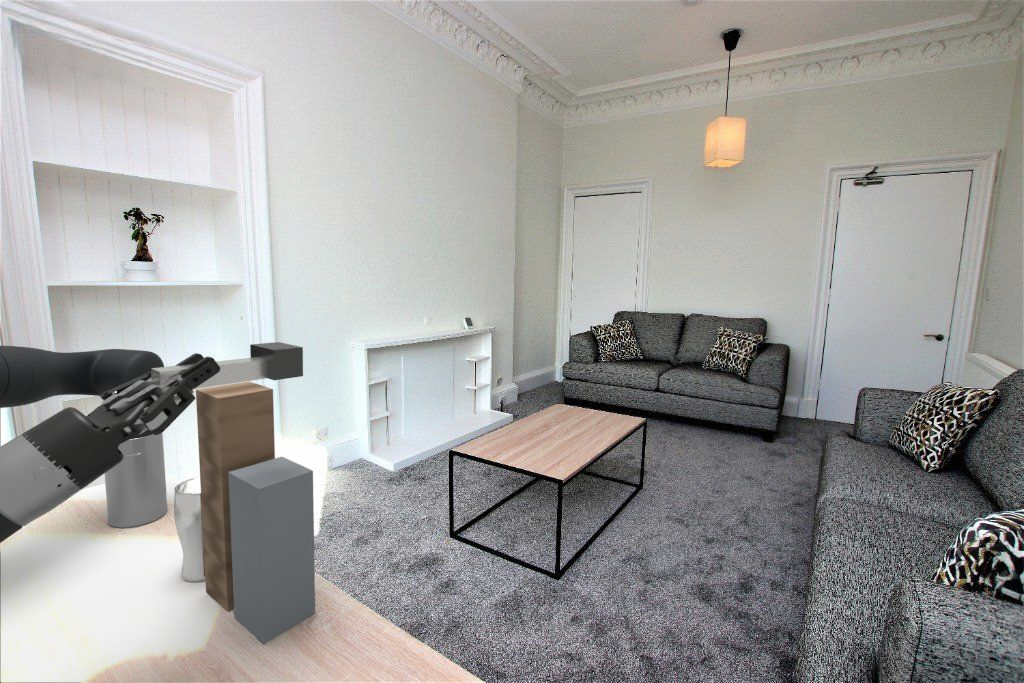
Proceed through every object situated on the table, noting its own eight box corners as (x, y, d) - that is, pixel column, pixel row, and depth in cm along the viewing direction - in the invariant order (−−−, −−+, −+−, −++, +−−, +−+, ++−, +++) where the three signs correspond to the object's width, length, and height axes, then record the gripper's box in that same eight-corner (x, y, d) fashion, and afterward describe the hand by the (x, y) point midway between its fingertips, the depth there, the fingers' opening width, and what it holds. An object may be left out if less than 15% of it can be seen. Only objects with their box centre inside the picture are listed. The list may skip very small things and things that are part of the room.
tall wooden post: (205, 592, 74) (195, 389, 70) (255, 568, 80) (249, 381, 76) (227, 611, 70) (218, 398, 66) (278, 585, 76) (273, 389, 72)
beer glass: (168, 575, 78) (163, 487, 76) (212, 553, 84) (208, 472, 82) (193, 589, 74) (188, 498, 72) (237, 566, 81) (233, 481, 78)
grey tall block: (234, 618, 69) (228, 472, 66) (285, 590, 75) (281, 456, 72) (263, 644, 64) (258, 489, 61) (315, 613, 71) (312, 470, 67)
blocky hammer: (146, 387, 56) (144, 353, 56) (279, 369, 69) (278, 342, 69) (167, 396, 53) (165, 360, 52) (303, 376, 66) (302, 347, 65)
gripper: (57, 471, 53) (202, 375, 64) (98, 510, 46) (255, 394, 57) (2, 422, 49) (167, 329, 60) (37, 456, 42) (219, 342, 53)
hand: (209, 361), depth 58 cm, fingers closed on blocky hammer, 2 cm apart
